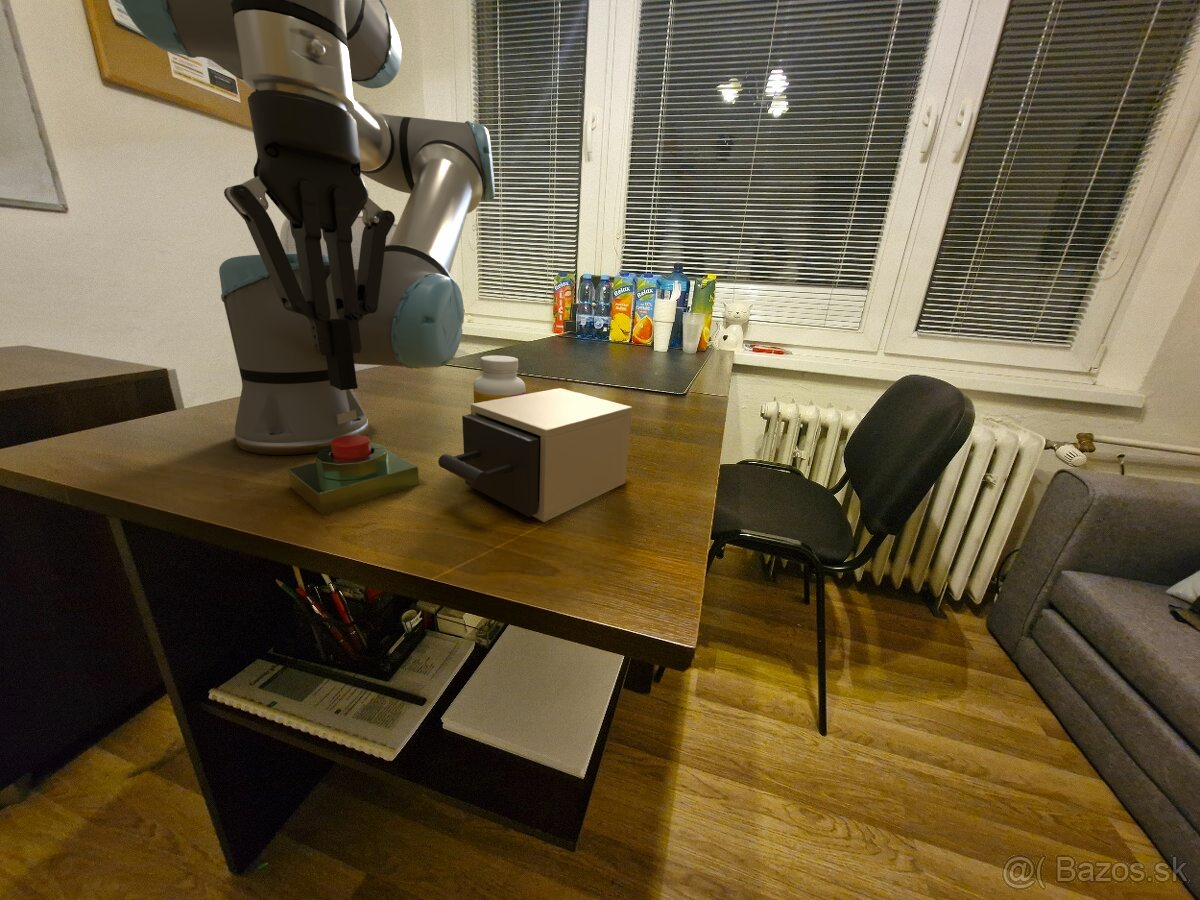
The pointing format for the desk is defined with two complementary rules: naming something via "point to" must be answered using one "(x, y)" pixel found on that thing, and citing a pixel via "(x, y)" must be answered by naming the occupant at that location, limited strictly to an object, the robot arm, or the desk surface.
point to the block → (351, 478)
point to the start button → (351, 447)
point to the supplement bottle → (498, 379)
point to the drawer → (499, 462)
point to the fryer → (569, 443)
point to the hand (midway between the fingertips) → (343, 386)
